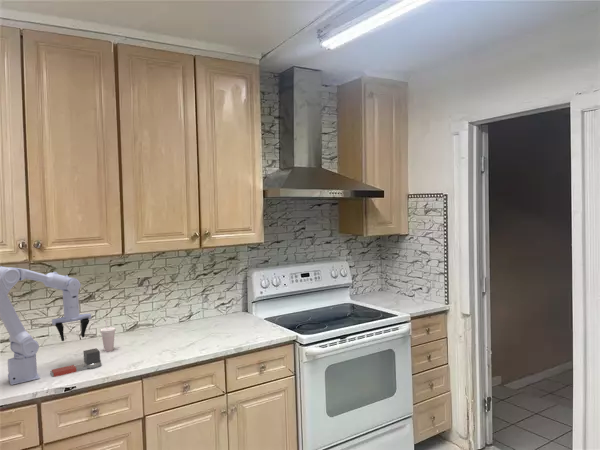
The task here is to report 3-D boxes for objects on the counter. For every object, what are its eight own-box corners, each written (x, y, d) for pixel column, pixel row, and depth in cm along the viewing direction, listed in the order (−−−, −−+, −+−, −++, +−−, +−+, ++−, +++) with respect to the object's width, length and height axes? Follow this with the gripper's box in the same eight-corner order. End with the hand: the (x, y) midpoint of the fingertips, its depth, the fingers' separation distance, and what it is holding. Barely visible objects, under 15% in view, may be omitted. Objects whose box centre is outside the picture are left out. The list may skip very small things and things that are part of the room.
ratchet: (52, 378, 177) (52, 367, 176) (49, 373, 182) (49, 362, 182) (102, 366, 188) (102, 356, 188) (98, 362, 193) (98, 352, 193)
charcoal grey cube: (87, 365, 185) (86, 353, 185) (84, 361, 189) (83, 350, 189) (100, 362, 188) (99, 351, 188) (96, 358, 192) (96, 348, 192)
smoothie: (99, 350, 209) (97, 319, 208) (113, 346, 213) (111, 316, 212) (104, 353, 204) (103, 322, 203) (119, 349, 208) (117, 319, 208)
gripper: (53, 311, 183) (55, 344, 184) (92, 305, 192) (94, 337, 193) (50, 307, 189) (52, 340, 190) (88, 302, 198) (89, 333, 199)
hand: (72, 338), depth 192 cm, fingers open, 7 cm apart
